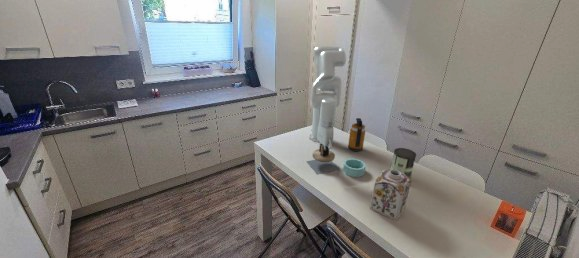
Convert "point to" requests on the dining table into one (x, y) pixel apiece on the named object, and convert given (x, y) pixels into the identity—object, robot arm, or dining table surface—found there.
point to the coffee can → (403, 161)
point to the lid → (321, 158)
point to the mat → (322, 166)
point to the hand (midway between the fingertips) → (323, 153)
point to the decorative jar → (390, 193)
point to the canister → (357, 136)
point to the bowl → (354, 167)
